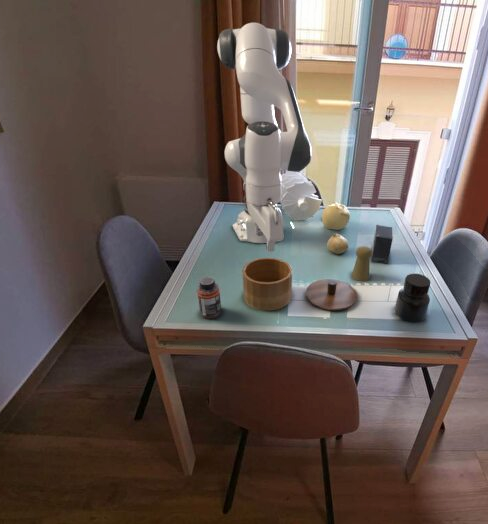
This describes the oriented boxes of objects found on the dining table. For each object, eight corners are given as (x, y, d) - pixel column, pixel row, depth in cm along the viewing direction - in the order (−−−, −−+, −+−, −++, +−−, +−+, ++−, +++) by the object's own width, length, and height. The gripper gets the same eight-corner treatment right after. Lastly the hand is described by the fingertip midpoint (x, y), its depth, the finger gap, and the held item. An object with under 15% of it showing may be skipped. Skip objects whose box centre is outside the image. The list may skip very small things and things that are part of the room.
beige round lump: (351, 232, 152) (354, 208, 147) (324, 233, 151) (326, 209, 145) (344, 221, 162) (347, 198, 157) (318, 222, 160) (320, 199, 155)
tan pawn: (358, 282, 119) (362, 254, 114) (348, 273, 124) (351, 245, 118) (372, 278, 122) (377, 250, 116) (362, 270, 126) (366, 242, 121)
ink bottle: (418, 303, 110) (427, 270, 104) (431, 322, 103) (441, 287, 97) (388, 305, 109) (395, 272, 103) (399, 324, 101) (407, 289, 95)
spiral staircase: (293, 231, 160) (281, 208, 180) (328, 213, 160) (313, 192, 180) (276, 198, 149) (266, 177, 169) (314, 179, 149) (299, 160, 169)
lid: (296, 290, 114) (296, 277, 111) (335, 277, 121) (336, 264, 119) (326, 318, 102) (327, 303, 100) (366, 301, 110) (369, 287, 108)
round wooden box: (236, 291, 112) (234, 265, 107) (276, 278, 119) (276, 253, 115) (257, 316, 102) (256, 289, 97) (300, 301, 109) (301, 274, 104)
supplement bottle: (202, 306, 105) (197, 274, 99) (222, 306, 105) (219, 273, 100) (198, 319, 100) (194, 286, 94) (220, 319, 100) (217, 286, 94)
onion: (347, 247, 140) (349, 231, 137) (347, 257, 133) (349, 240, 130) (327, 245, 141) (329, 229, 138) (325, 255, 134) (327, 238, 131)
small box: (388, 264, 130) (393, 238, 125) (370, 261, 131) (374, 236, 126) (388, 250, 139) (393, 226, 134) (371, 248, 140) (375, 224, 135)
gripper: (290, 206, 82) (289, 258, 88) (264, 179, 98) (264, 225, 105) (264, 209, 79) (265, 262, 86) (241, 181, 95) (243, 228, 102)
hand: (264, 242), depth 96 cm, fingers open, 8 cm apart
